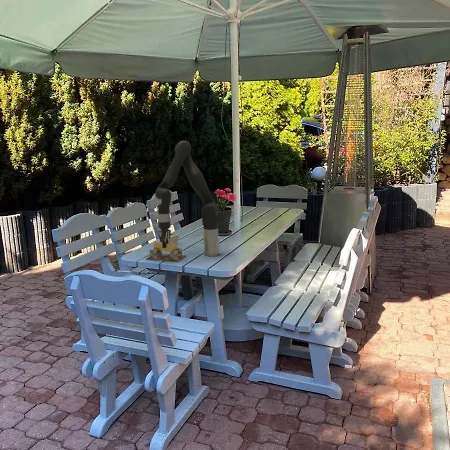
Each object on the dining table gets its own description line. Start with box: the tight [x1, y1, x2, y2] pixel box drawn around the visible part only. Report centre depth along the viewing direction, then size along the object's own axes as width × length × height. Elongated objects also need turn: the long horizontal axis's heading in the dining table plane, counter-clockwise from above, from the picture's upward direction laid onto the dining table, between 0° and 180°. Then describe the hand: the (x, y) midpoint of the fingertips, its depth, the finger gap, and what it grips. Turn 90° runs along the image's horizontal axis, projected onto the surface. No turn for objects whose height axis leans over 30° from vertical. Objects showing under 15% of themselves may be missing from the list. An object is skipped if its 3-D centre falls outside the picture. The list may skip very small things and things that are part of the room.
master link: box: [153, 241, 178, 253], centre depth 287 cm, size 15×3×5 cm, turn 72°
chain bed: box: [145, 247, 187, 263], centre depth 288 cm, size 22×12×6 cm, turn 72°
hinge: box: [168, 232, 180, 245], centre depth 317 cm, size 17×5×10 cm, turn 151°
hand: (165, 247), depth 287 cm, fingers closed on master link, 3 cm apart
